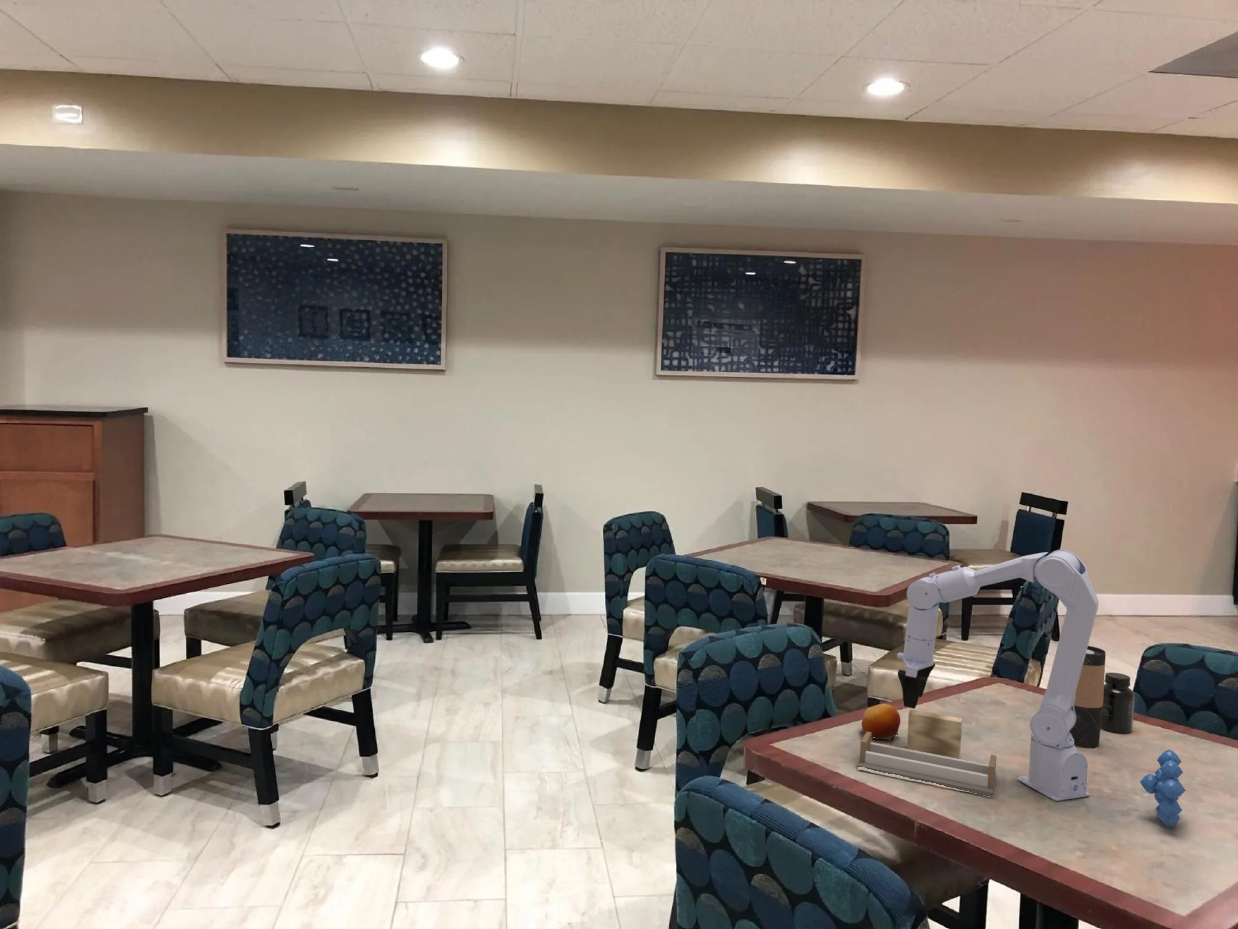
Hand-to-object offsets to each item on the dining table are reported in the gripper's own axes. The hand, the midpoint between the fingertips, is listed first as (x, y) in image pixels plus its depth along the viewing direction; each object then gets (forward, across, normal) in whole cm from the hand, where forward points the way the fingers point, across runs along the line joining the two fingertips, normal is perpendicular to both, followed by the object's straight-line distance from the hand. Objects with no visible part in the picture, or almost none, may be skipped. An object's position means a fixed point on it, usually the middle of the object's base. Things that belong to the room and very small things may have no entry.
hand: (913, 701), depth 178 cm
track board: (+10, +10, +5) cm, 15 cm away
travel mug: (+9, -24, +31) cm, 41 cm away
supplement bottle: (+9, -38, +38) cm, 54 cm away
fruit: (+11, -5, -6) cm, 14 cm away
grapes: (+8, +8, +44) cm, 45 cm away
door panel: (+10, -1, +5) cm, 11 cm away
